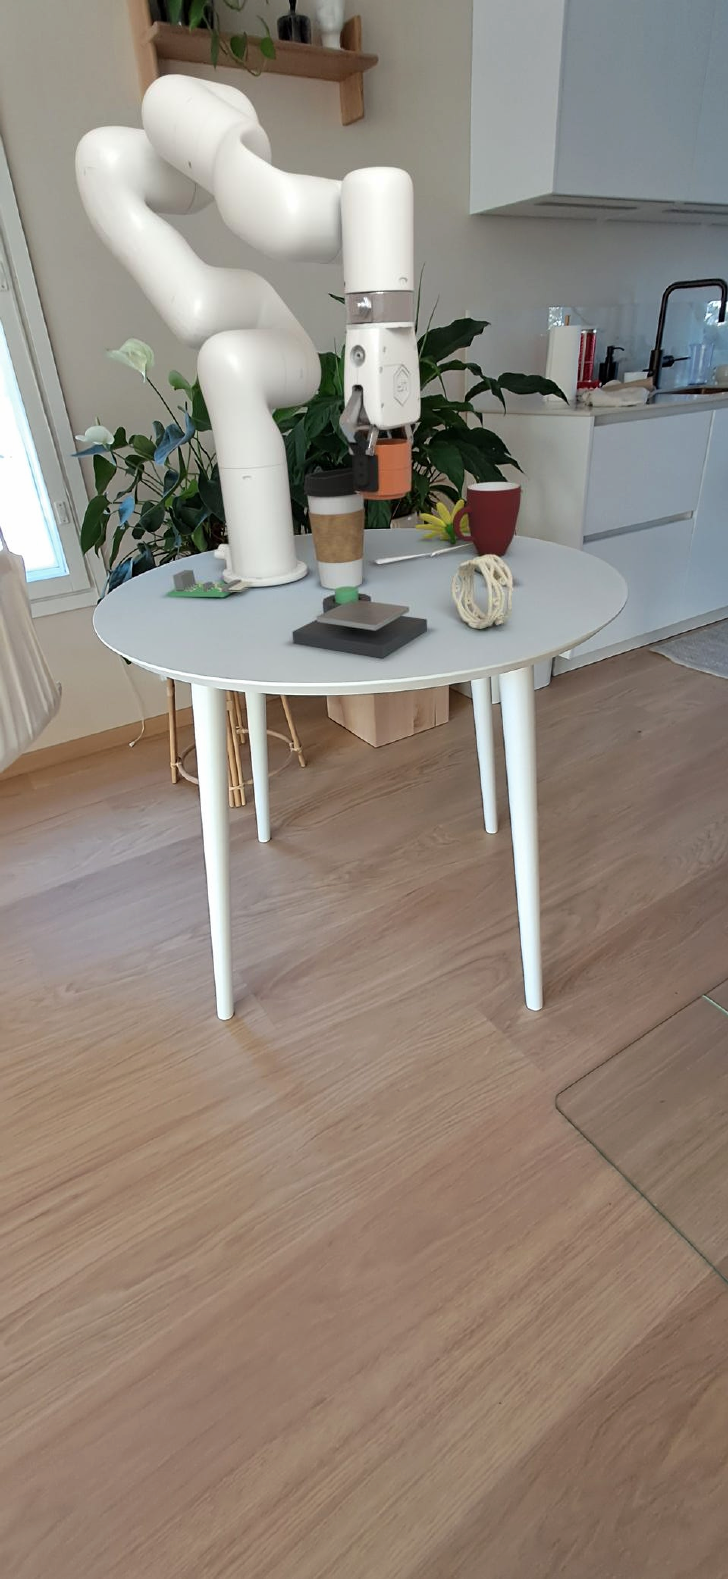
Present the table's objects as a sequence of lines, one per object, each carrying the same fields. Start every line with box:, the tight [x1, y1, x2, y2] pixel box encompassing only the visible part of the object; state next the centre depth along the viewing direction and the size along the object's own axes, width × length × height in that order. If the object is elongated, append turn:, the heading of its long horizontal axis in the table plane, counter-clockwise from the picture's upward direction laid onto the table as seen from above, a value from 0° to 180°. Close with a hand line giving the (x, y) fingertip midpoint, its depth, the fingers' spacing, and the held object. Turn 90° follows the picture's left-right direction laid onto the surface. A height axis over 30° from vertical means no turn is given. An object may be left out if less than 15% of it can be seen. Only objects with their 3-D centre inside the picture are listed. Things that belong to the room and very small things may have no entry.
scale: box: [292, 592, 428, 659], centre depth 88 cm, size 13×11×3 cm
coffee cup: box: [303, 467, 366, 590], centre depth 104 cm, size 8×8×15 cm
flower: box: [414, 499, 470, 546], centre depth 125 cm, size 4×12×12 cm
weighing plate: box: [316, 599, 410, 631], centre depth 84 cm, size 8×7×1 cm
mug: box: [453, 481, 522, 558], centre depth 116 cm, size 11×8×10 cm
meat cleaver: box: [475, 566, 515, 587], centre depth 107 cm, size 12×1×5 cm
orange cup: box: [355, 437, 412, 501], centre depth 91 cm, size 7×7×6 cm
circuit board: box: [167, 569, 253, 599], centre depth 107 cm, size 12×3×5 cm
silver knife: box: [374, 542, 474, 565], centre depth 119 cm, size 4×1×19 cm
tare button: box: [334, 586, 359, 604], centre depth 90 cm, size 3×3×2 cm
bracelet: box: [450, 555, 515, 630], centre depth 87 cm, size 4×8×8 cm, turn 31°
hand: (383, 484), depth 92 cm, fingers closed on orange cup, 7 cm apart
